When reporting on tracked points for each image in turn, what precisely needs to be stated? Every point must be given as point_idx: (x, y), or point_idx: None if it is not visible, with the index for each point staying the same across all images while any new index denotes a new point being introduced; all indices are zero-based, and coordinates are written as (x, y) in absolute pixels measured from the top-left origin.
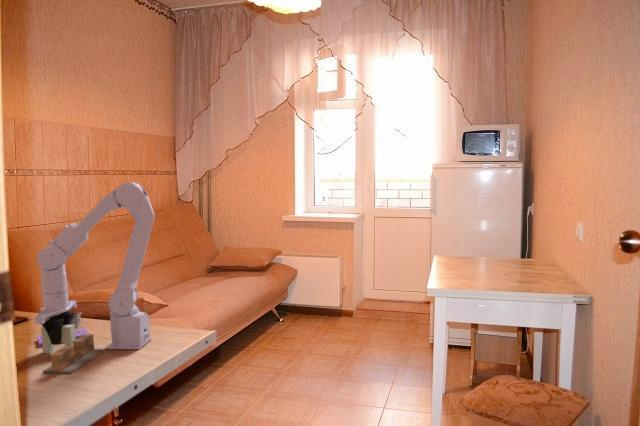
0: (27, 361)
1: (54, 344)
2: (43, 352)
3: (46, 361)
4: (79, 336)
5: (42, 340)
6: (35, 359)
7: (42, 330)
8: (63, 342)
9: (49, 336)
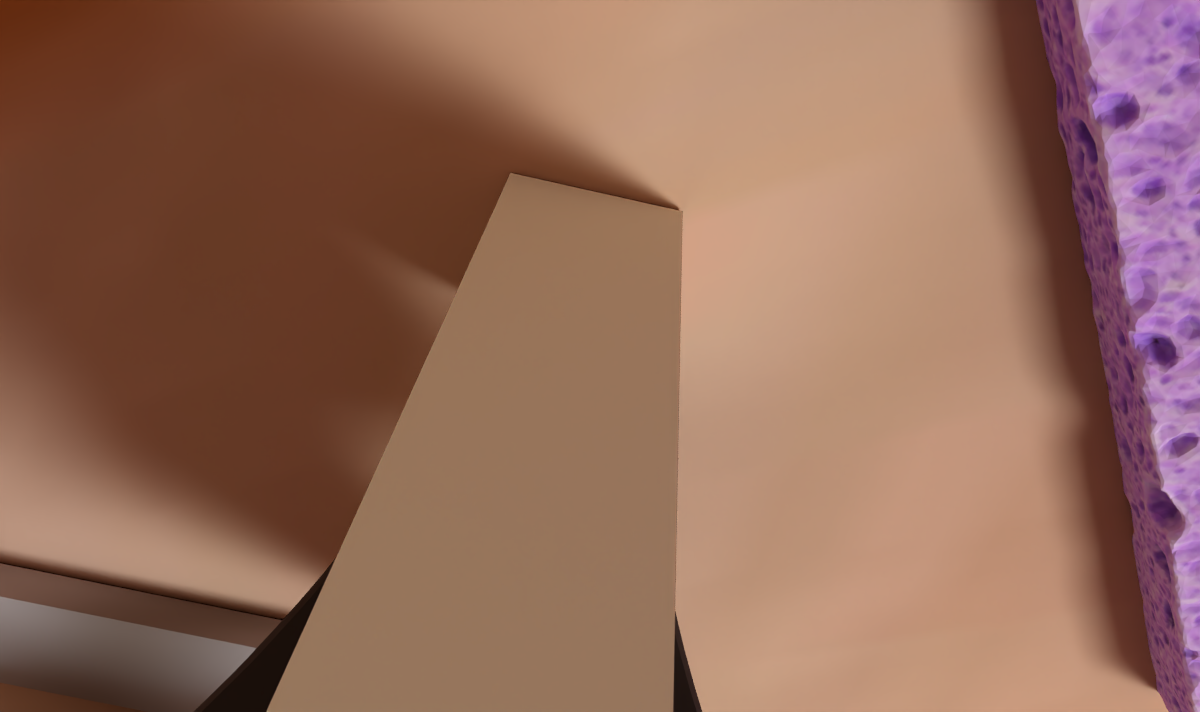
0: (27, 24)
1: (1079, 218)
2: (506, 189)
3: (87, 389)
4: (1174, 655)
5: (438, 340)
6: (155, 155)
7: (320, 616)
8: (1110, 379)
9: (257, 665)
